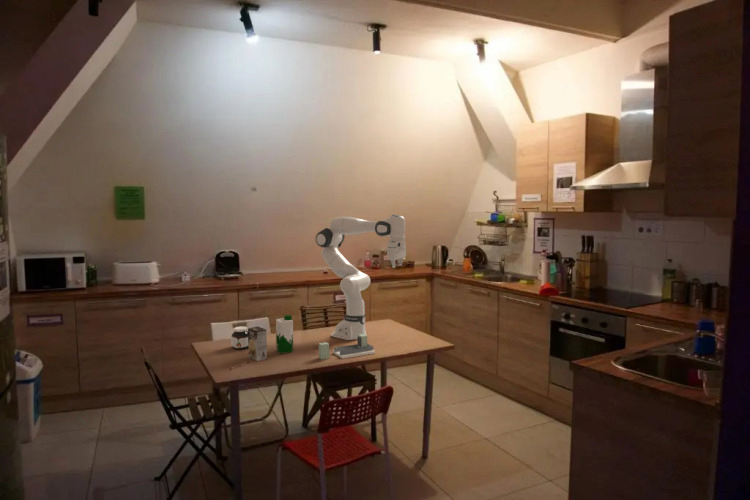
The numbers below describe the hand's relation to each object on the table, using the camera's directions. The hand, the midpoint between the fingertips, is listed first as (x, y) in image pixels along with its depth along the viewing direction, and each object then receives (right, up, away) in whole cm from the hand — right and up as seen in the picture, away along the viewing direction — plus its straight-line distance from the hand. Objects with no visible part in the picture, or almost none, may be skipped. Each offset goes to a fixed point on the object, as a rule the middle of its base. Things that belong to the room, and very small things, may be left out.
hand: (396, 266), depth 294 cm
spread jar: (-88, -46, -3) cm, 99 cm away
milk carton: (-63, -47, -10) cm, 80 cm away
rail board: (-24, -48, -13) cm, 55 cm away
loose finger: (-40, -48, -22) cm, 67 cm away
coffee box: (-76, -48, -23) cm, 93 cm away
